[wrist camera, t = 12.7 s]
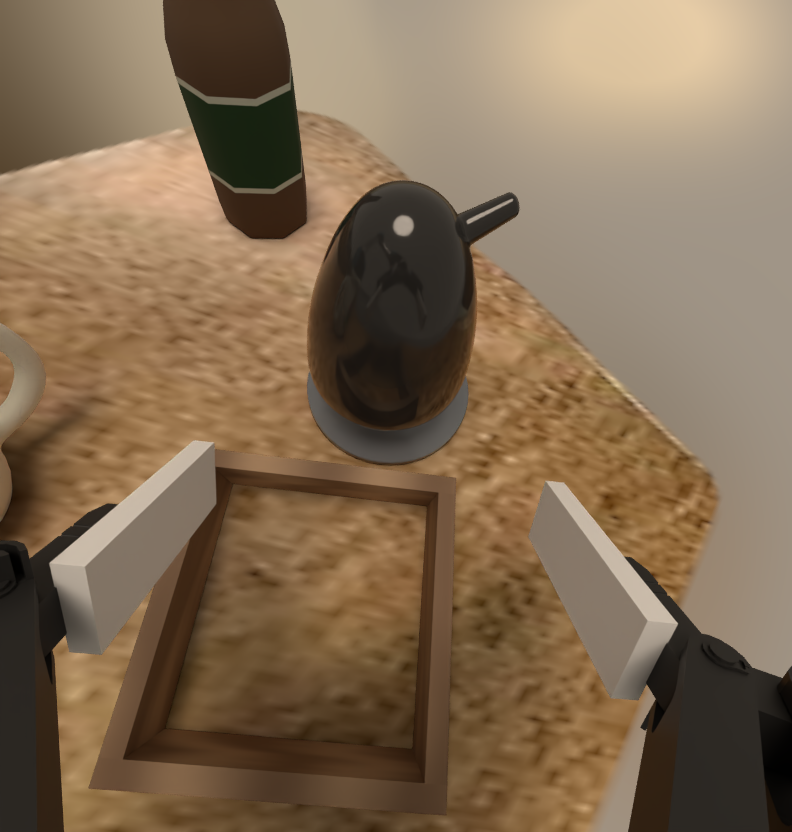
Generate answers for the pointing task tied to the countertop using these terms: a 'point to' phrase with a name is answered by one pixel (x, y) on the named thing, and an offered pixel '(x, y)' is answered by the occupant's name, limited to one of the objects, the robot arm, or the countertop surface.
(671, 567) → the countertop surface
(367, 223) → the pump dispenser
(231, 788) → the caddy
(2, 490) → the pitcher
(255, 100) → the beer bottle
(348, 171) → the countertop surface
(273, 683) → the countertop surface
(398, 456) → the coaster
